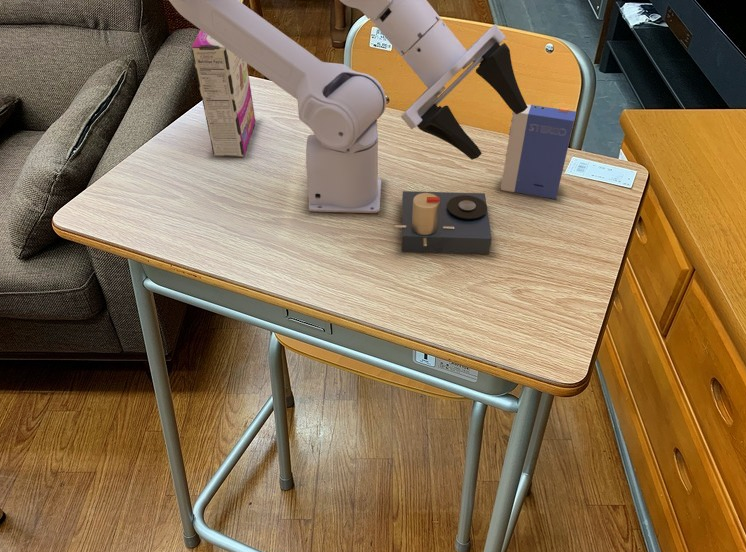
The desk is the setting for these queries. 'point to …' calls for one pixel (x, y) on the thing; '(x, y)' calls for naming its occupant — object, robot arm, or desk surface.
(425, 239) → the hot plate
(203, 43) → the candy bar box
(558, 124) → the walkman
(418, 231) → the knob
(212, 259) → the desk surface
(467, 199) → the burner
